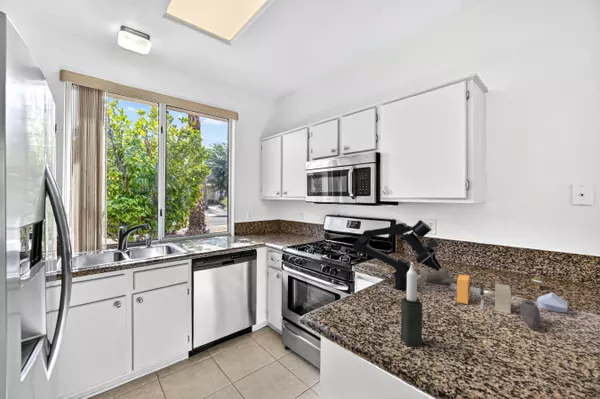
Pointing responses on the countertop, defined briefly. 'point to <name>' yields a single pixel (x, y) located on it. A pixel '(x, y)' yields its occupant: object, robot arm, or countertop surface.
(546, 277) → the countertop surface
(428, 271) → the grey lumpy stone
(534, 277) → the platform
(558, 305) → the pale blue faceted stone
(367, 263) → the countertop surface
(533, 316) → the perforated stone tool
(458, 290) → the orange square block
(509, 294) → the pipe stand
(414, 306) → the candle
